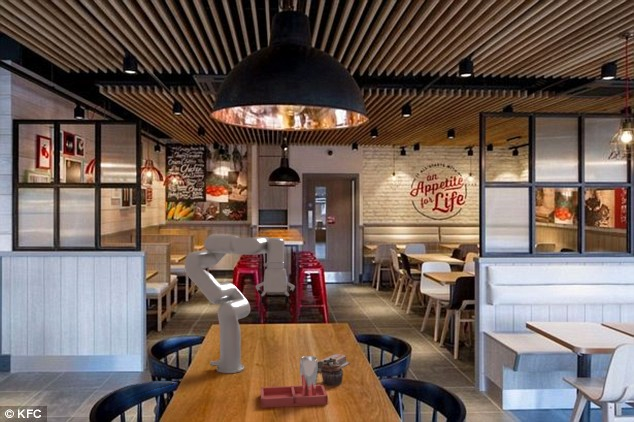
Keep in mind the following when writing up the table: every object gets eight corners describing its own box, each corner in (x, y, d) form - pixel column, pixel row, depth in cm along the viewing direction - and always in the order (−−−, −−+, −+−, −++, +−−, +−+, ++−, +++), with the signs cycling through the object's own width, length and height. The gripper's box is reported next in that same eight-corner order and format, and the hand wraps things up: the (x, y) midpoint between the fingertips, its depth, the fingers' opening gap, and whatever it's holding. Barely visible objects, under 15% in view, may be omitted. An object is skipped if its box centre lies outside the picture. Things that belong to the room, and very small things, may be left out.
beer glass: (304, 401, 199) (304, 361, 199) (297, 395, 206) (296, 357, 206) (321, 398, 203) (320, 359, 203) (312, 392, 209) (312, 355, 209)
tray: (261, 407, 195) (261, 399, 195) (260, 395, 208) (260, 387, 208) (327, 404, 198) (327, 396, 198) (323, 392, 211) (323, 384, 211)
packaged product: (332, 351, 256) (350, 354, 250) (332, 361, 256) (350, 364, 250) (311, 360, 240) (330, 364, 235) (311, 371, 240) (330, 374, 235)
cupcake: (336, 387, 217) (336, 363, 217) (316, 383, 222) (316, 360, 222) (347, 381, 225) (347, 358, 225) (328, 377, 230) (328, 354, 230)
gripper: (255, 267, 226) (255, 306, 227) (295, 267, 228) (295, 306, 228) (255, 265, 234) (255, 303, 234) (294, 265, 236) (294, 302, 236)
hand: (275, 304), depth 231 cm, fingers open, 9 cm apart
